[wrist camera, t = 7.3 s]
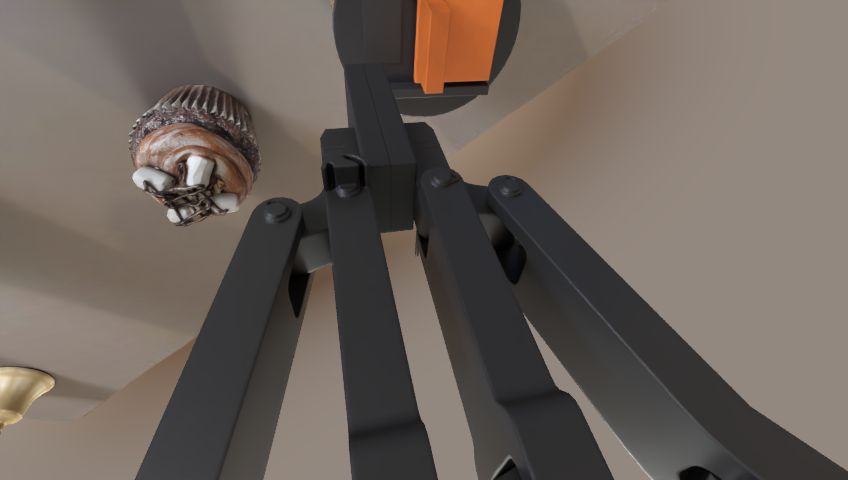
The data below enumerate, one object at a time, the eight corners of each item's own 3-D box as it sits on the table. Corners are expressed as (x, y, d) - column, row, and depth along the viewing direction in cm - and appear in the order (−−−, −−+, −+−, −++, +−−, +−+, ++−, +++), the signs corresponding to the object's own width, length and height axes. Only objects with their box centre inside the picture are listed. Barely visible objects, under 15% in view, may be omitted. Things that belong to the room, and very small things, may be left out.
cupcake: (285, 144, 40) (283, 213, 33) (201, 183, 41) (183, 258, 34) (214, 54, 32) (194, 120, 26) (115, 104, 34) (71, 180, 27)
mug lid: (341, 115, 25) (343, 130, 24) (321, -97, 18) (323, -90, 17) (496, 107, 27) (504, 120, 26) (537, -87, 20) (552, -80, 18)
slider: (413, 79, 23) (422, 101, 22) (418, -17, 20) (429, 0, 18) (486, 76, 24) (500, 97, 22) (503, -16, 20) (521, 1, 19)
